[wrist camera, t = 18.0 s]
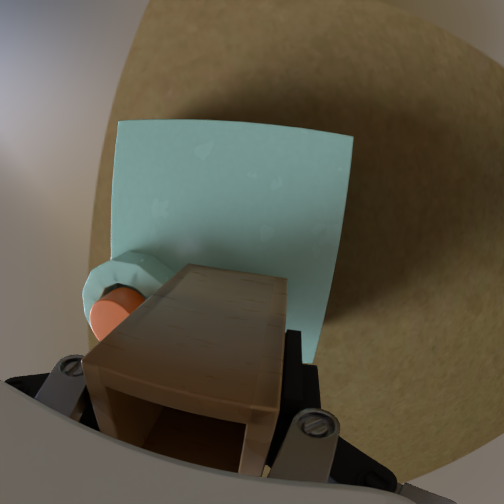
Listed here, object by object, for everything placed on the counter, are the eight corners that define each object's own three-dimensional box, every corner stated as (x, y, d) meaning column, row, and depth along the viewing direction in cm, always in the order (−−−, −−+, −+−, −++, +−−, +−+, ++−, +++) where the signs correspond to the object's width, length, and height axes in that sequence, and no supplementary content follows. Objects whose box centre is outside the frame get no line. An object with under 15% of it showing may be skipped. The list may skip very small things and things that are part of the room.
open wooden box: (272, 370, 14) (251, 509, 6) (185, 354, 15) (115, 473, 7) (288, 277, 13) (279, 410, 5) (187, 262, 13) (79, 359, 6)
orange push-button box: (307, 340, 20) (310, 396, 14) (133, 308, 21) (89, 347, 15) (340, 145, 17) (362, 130, 11) (139, 129, 18) (85, 117, 12)
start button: (155, 343, 15) (141, 361, 13) (108, 330, 15) (92, 345, 13) (154, 292, 14) (138, 306, 12) (104, 282, 14) (85, 293, 13)
